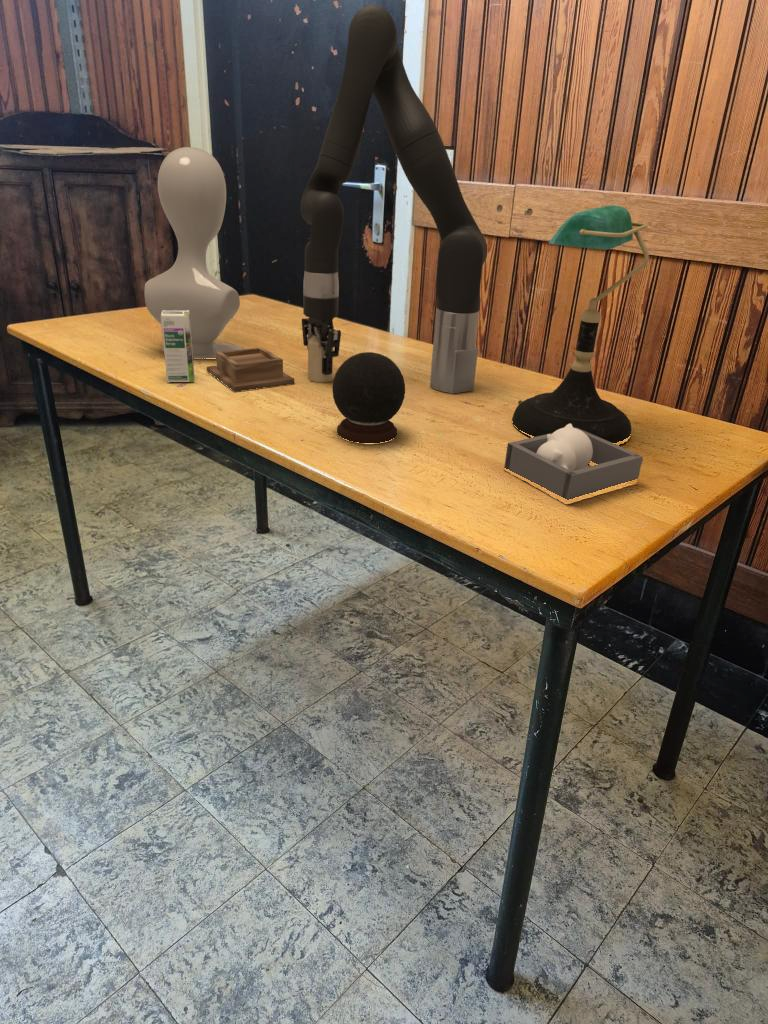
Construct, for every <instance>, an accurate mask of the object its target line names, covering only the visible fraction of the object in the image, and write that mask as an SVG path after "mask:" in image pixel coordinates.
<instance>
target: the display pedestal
mask: <svg viewBox="0 0 768 1024" xmlns="http://www.w3.org/2000/svg"><path fill="white" fill-rule="evenodd" d="M215 361H216V365H209V366H206V372H207V371H208V372H209V373H211V374H212V375H213V376H215V377H216V378H218V379H219V380H220V381H222V382H223V383H224V384H225V385H227V386H228V387H229V388H231V389H232V390H233V391H240V392H242V391H241V390H247V391H250V390H249V389H255V390H257V389H256V388H262V389H264V388H263V387H269V388H272V387H271V386H277V387H280V386H279V385H284V386H288V385H287V384H291V385H295V378H294V377H292V376H290V375H289V374H287V373H286V372H284V359H283V358H282V357H279V356H278V355H276V354H275V353H272V352H271V351H269V350H267V349H265V348H264V347H262V346H261V347H252V348H242V349H241V350H232V351H222V352H216V359H215ZM208 372H207V373H208ZM209 373H208V374H209ZM212 375H211V376H212ZM213 376H212V377H213ZM216 378H215V379H216ZM220 381H219V382H220ZM224 384H223V385H224ZM225 385H224V386H225ZM227 386H226V387H227ZM228 387H227V388H228ZM229 388H228V389H229ZM231 389H230V390H231ZM232 390H231V391H232ZM233 391H232V392H233Z"/></svg>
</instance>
